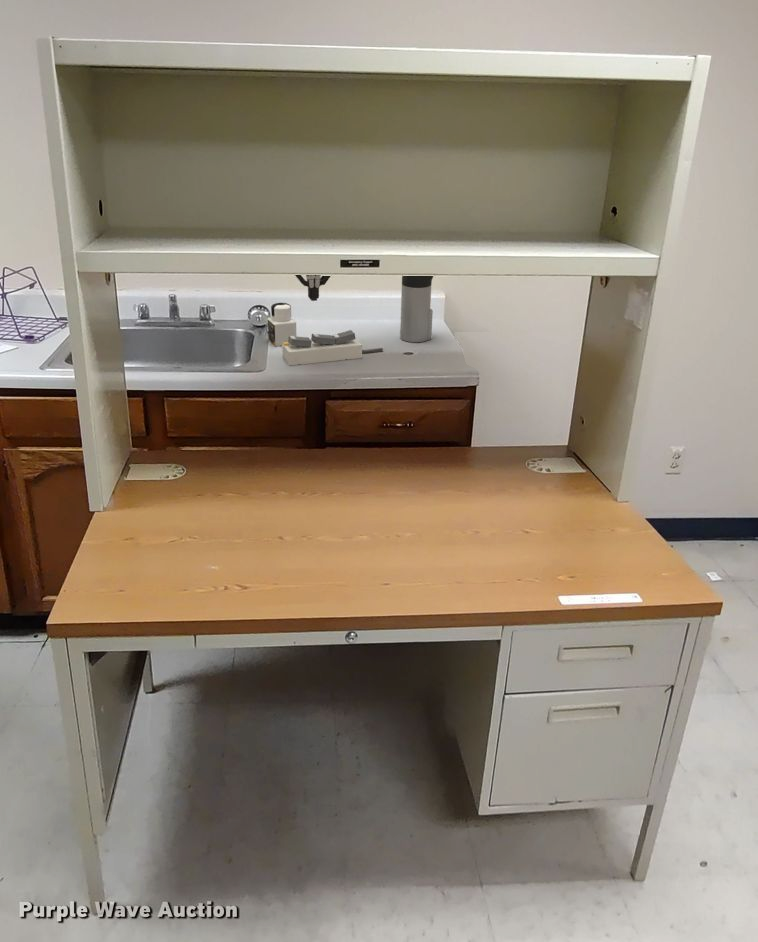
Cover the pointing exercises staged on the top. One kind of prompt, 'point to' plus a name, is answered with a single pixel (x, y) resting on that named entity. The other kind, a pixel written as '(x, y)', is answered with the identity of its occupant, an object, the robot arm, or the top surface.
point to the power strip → (323, 352)
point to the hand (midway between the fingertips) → (313, 300)
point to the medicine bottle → (280, 324)
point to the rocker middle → (323, 339)
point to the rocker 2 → (344, 337)
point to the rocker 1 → (299, 341)
